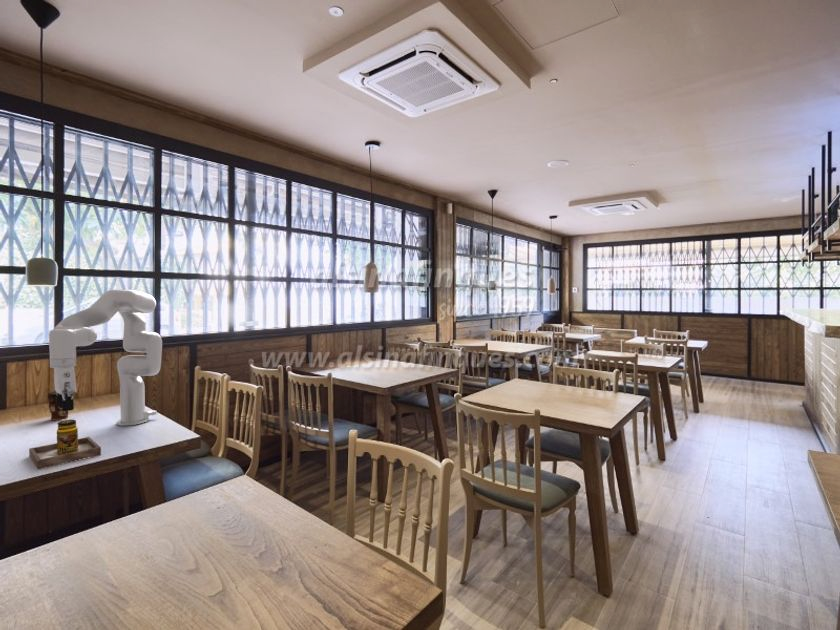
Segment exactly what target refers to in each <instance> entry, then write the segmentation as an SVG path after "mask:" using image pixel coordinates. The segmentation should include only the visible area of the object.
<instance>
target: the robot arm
mask: <svg viewBox="0 0 840 630" xmlns="http://www.w3.org/2000/svg"><path fill="white" fill-rule="evenodd" d="M156 307H157V301H156V299H155V297H154V296H153V295H151V294H149V293H145V292H141V291H137V290H133V289H110V290H107V291H105V292H104V293H103V294H102V295H101V296H100V297H99V298H98V299H97V300H96V301H94V303H93V304H91V306H90V307H88V308H85V309H83V310H80V311H78V312H76V313H73V314H70V315H68V316H66V317H65V318H63V319H62V320H60V322H58V323H57V325H55V326H54V328H53V329H51V330H49V332H48V343H49V344H48V347H49V368H52V369H53V377H54V378H53V380H54V381H53V382H54V383H53V384H54V390H55V391H56V394H57V396H56V403H57V406H62V411H68V412H69V411H73V410H74V407H75V405H74V396H73V393H74V394H75V393H76V392H77V383H76V381H77V380H76V371H75V367H76V366H77V347H87V346H91V345H93V344H95V342H96V340H97V339H98V334H97V331H96V330H94V329H95V328H92V327H96V326H100V325H102V324H106V323H108V322H109V321H110V320H111V319H112V318H113V317H114V316H115V315H116V314H117V312H118V313H119V315H120V316H121V318H122V319H123V335H122V336H123V337H122V347H123V349H124V351H126V352H129V353H146V355H145V354H144V355H143V354H130V355H129V354H128V355H124V356H121V357H120V358H119V359H118V360H117V364H116V368H117V369H116V370H117V373H118V377H119V394H120V397H119V399H120V419H118V420H116V425H117V426H120V427H121V426H122V427H127V426H137V424H138V425H142V424H145V423H146V422H149V419H150V418H149V417H150V416H156V415H157V410H148V411H147V410H146V406H145V405H146V403H145V399H146V397H145V396H146V395H145V392H146V391H145V387H146V386H145V381H144V379H143V378H142V377H145V376H146V377H148V376H149V377H151V376H152V377H153V376H156V375H158V374H159V372H160V370H161V366H162V352H163V339H162V337H161V335H160V334H159V333H157V332H152V331H151V332H150V331H149V332H148V331H146V327H147V326H146V325H147V323H146V319H145V317H144V316H143V315H142V314H150V313H152V312H154V311H155V309H156ZM144 422H145V423H144ZM141 423H142V424H141Z"/></svg>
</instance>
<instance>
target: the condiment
mask: <svg viewBox="0 0 840 630" xmlns="http://www.w3.org/2000/svg"><path fill="white" fill-rule="evenodd" d="M78 434H79V430H78V427H77V421H76V419H65V420H60V421H58V423H57V430H56V443H57V451H56V452H53V453H51V454H48V455H55V456H59V455H63V454H68V453H73V452H77V451H81V450H84V449H78V439H79V435H78Z"/></svg>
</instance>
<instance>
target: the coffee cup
mask: <svg viewBox="0 0 840 630" xmlns="http://www.w3.org/2000/svg"><path fill="white" fill-rule="evenodd" d="M56 396H57V394H56V390H55V391H51V392H48V393H47V399H48V408H49V413H50V415H51V416H50V421H52V420H59V421H63V420H62V419H65V420H67V419H68V418H69V411H62V406H57V403H56ZM66 418H67V419H66Z"/></svg>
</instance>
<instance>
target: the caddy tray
mask: <svg viewBox="0 0 840 630" xmlns="http://www.w3.org/2000/svg"><path fill="white" fill-rule="evenodd" d="M78 449H84V450H81V451H77V452H73V453H68V454H63V455H59V456H55V455H48V454H51V453H53V452H56V451H57V442H55V443H51V444H47V445H46V444H45V445H41V446H35V447H30V448H28V450H29V451H28V457H29V458H30V460H31V461H32V463H33V464H34V466H35V468H36V467H37V468H36V469H37V470H42V469H46V468H50V466H51V467H55V466H59V465H58V464H60V465H63V464H62V463H64V464H67V463H66V462H68V463H71V462H70V461H73V462H76V461H75V460H77V461H80V460H79V459H82V460H84V459H83V458H86V459H89V458H88V457H91V458H94V457H99V456H102V447H101V446H100V445H99V444H98V443H97V442H96V441H95V440H94V439H93V438H91V437H90V436H87V437H82V438H78ZM54 465H55V466H54ZM45 467H46V468H45ZM41 468H42V469H41Z"/></svg>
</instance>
